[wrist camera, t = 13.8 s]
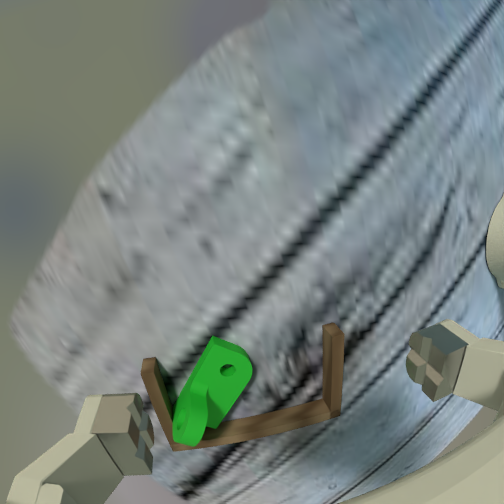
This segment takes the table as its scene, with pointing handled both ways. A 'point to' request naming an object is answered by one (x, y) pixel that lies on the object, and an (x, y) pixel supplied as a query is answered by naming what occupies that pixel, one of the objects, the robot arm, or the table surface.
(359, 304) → the table surface
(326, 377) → the walnut bay
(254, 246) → the table surface
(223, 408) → the mechanical part
